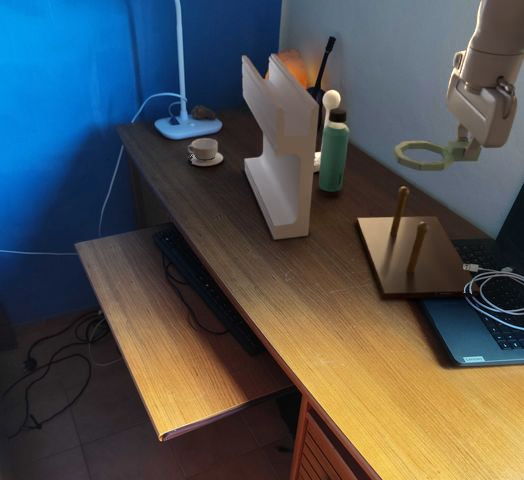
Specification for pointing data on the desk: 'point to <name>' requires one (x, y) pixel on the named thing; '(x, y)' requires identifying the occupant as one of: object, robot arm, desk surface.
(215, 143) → the teacup
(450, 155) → the hanging tag
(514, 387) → the desk surface
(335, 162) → the beverage bottle
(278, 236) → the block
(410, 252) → the peg rack
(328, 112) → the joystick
